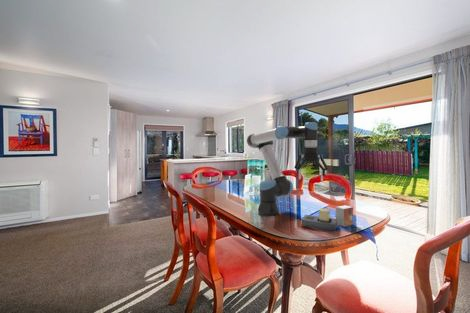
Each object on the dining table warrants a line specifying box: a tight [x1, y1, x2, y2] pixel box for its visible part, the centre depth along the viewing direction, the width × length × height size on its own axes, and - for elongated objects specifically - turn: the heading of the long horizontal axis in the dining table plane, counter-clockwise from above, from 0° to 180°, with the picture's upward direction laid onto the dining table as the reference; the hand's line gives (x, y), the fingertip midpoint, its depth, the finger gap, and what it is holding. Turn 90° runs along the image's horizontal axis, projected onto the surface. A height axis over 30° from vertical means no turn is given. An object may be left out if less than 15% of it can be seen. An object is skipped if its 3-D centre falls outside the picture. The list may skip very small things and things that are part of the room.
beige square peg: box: [318, 207, 331, 223], centre depth 118 cm, size 5×5×10 cm
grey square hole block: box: [300, 214, 338, 233], centre depth 120 cm, size 18×10×4 cm, turn 58°
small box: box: [335, 204, 354, 228], centre depth 121 cm, size 8×6×10 cm
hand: (310, 180), depth 131 cm, fingers open, 13 cm apart
